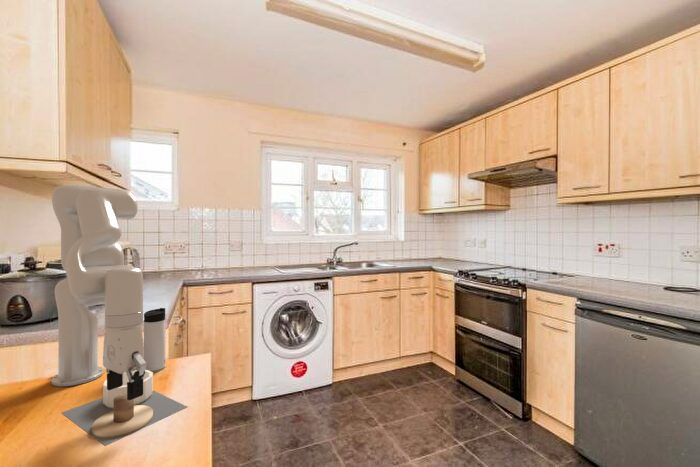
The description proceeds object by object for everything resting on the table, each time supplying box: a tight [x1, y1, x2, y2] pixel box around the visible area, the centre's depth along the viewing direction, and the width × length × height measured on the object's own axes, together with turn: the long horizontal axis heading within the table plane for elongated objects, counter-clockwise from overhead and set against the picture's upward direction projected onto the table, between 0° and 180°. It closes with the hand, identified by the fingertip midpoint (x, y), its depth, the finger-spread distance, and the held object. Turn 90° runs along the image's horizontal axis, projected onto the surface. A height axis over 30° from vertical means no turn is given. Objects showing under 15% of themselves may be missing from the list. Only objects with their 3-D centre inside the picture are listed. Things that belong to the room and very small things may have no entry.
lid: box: [92, 393, 153, 438], centre depth 79 cm, size 12×12×6 cm
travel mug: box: [143, 307, 167, 373], centre depth 110 cm, size 6×7×20 cm
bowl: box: [102, 370, 154, 408], centre depth 90 cm, size 11×11×6 cm
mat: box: [61, 389, 188, 447], centre depth 85 cm, size 24×19×1 cm
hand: (124, 392), depth 79 cm, fingers open, 9 cm apart
